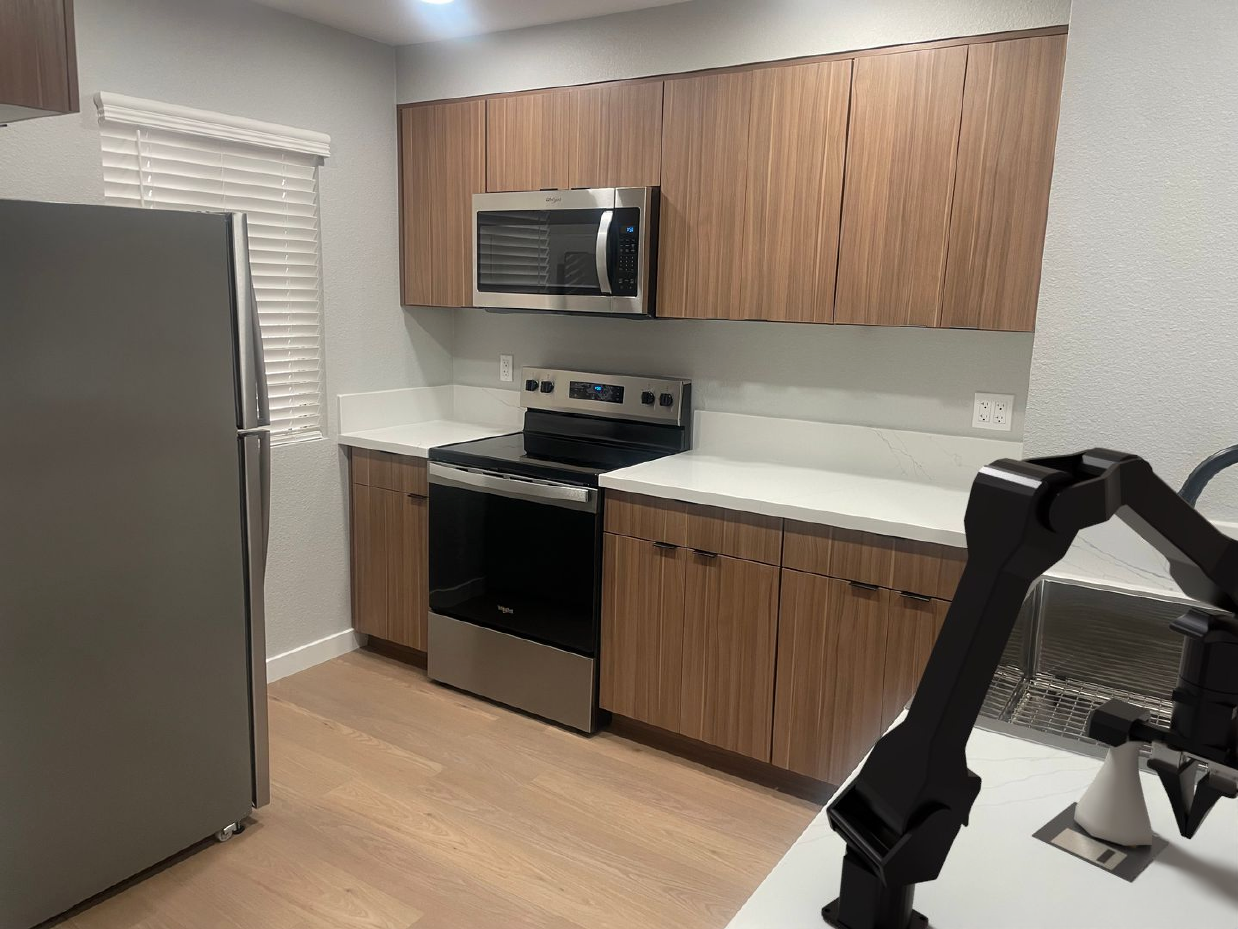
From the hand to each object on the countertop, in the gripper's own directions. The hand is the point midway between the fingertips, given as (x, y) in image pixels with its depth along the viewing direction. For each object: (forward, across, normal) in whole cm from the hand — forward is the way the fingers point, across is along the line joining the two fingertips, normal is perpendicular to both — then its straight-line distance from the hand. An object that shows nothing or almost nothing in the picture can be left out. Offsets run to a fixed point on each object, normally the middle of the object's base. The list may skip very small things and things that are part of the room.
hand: (1187, 836), depth 86 cm
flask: (+2, +6, 0) cm, 7 cm away
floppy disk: (+2, +6, +3) cm, 7 cm away
